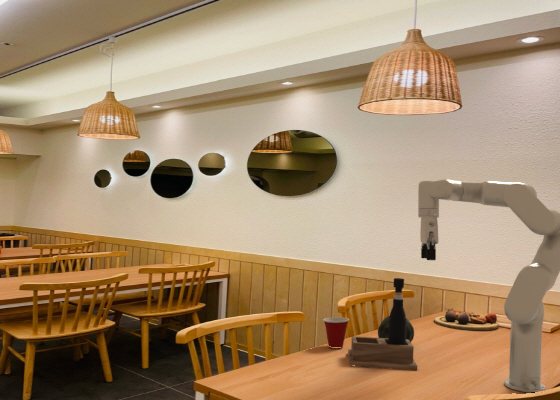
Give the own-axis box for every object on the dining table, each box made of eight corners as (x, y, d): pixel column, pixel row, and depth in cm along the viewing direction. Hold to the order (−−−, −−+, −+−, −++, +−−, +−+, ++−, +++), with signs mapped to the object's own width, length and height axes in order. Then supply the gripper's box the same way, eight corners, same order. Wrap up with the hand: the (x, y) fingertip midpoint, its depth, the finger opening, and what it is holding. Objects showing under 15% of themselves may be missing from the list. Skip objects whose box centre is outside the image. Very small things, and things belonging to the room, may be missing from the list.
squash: (381, 326, 238) (380, 305, 229) (416, 331, 233) (415, 309, 224) (376, 353, 228) (374, 331, 219) (412, 359, 223) (411, 337, 214)
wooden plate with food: (503, 324, 282) (503, 308, 283) (492, 334, 255) (492, 317, 256) (443, 317, 299) (443, 302, 300) (426, 326, 272) (426, 309, 273)
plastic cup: (331, 342, 227) (332, 314, 227) (353, 347, 220) (354, 318, 220) (316, 347, 218) (317, 318, 219) (338, 352, 212) (339, 322, 212)
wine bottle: (405, 361, 197) (407, 280, 197) (387, 359, 198) (390, 279, 198) (404, 356, 203) (407, 278, 203) (387, 355, 204) (390, 277, 205)
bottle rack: (417, 370, 191) (418, 349, 191) (350, 366, 193) (351, 345, 193) (409, 356, 209) (409, 337, 209) (348, 353, 211) (348, 334, 211)
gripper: (444, 213, 191) (444, 261, 190) (433, 214, 208) (433, 257, 207) (423, 213, 191) (422, 260, 190) (414, 213, 208) (413, 257, 208)
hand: (428, 259), depth 199 cm, fingers open, 9 cm apart
